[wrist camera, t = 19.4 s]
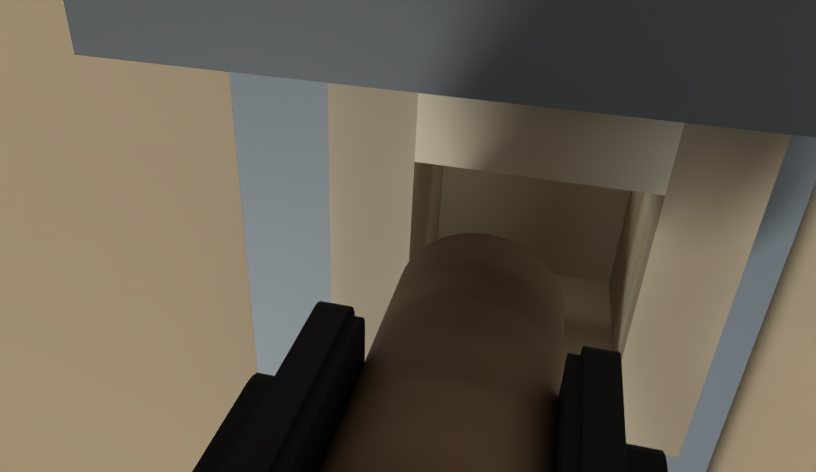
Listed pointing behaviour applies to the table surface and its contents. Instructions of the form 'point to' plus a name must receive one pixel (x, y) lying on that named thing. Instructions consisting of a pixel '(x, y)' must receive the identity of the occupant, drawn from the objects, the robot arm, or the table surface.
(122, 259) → the table surface
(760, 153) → the socket block
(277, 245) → the jig board
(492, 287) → the dowel
